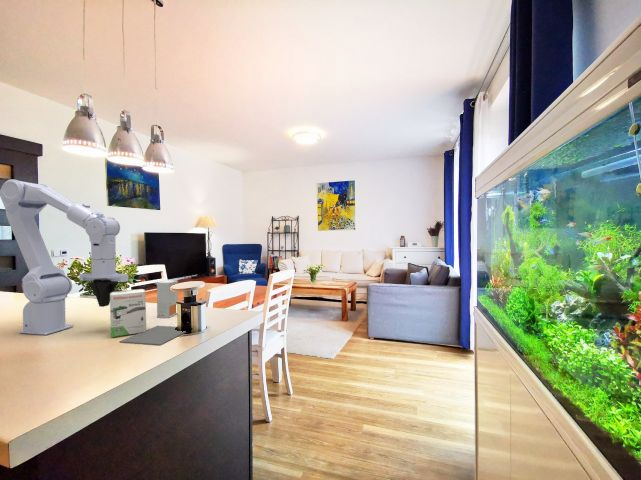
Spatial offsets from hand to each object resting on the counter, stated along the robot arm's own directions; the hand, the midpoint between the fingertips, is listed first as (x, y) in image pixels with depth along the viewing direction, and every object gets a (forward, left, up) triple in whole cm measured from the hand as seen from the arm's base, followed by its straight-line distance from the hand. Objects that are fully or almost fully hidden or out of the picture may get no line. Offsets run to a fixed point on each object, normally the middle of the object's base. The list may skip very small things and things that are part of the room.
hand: (104, 305), depth 88 cm
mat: (+18, 0, -7) cm, 19 cm away
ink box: (+8, 0, -8) cm, 11 cm away
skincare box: (+6, +19, -8) cm, 21 cm away
